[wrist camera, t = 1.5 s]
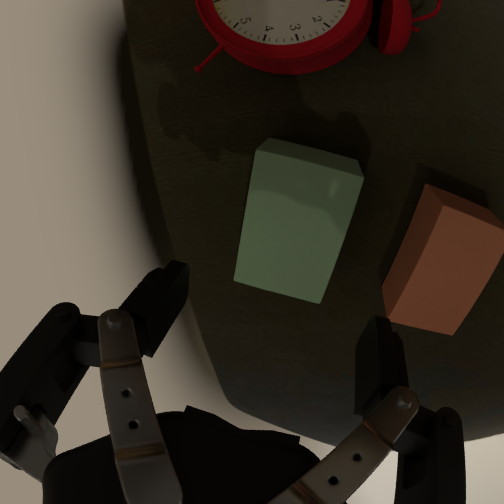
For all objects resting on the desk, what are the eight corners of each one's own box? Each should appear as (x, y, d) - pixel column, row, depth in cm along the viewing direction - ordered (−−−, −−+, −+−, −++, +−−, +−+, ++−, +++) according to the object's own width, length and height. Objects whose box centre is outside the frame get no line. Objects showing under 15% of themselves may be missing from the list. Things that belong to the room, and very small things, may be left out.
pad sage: (269, 137, 19) (255, 149, 16) (358, 160, 19) (364, 177, 15) (247, 251, 24) (233, 281, 21) (322, 271, 24) (319, 304, 20)
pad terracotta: (425, 182, 18) (443, 204, 15) (489, 209, 18) (513, 234, 14) (381, 286, 23) (386, 320, 20) (441, 302, 22) (452, 336, 19)
